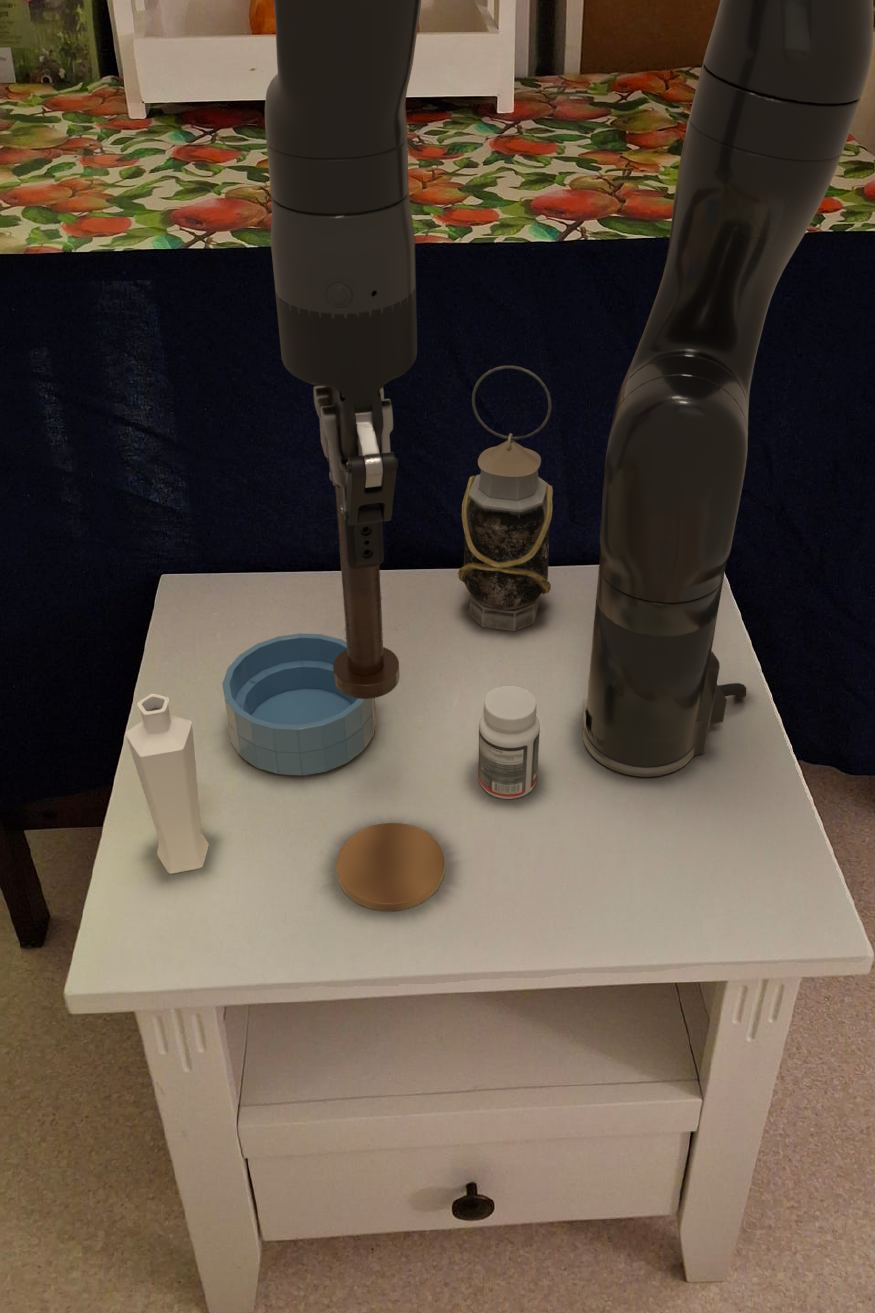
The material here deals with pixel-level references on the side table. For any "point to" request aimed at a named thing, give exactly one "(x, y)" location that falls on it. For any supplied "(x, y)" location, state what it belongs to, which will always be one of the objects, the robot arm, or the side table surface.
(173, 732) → the perfume bottle
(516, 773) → the pill bottle
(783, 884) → the side table surface
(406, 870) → the coaster
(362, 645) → the brown wooden peg
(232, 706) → the bowl
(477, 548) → the lantern
